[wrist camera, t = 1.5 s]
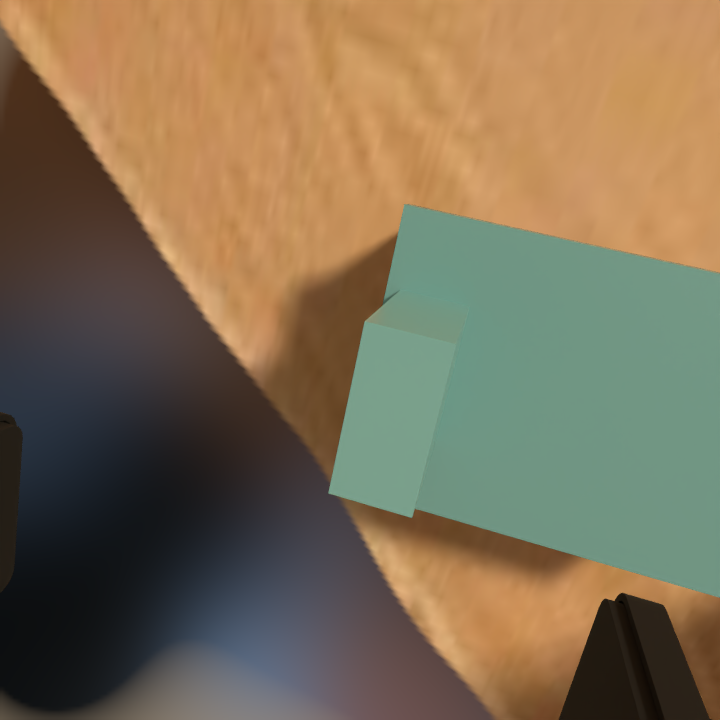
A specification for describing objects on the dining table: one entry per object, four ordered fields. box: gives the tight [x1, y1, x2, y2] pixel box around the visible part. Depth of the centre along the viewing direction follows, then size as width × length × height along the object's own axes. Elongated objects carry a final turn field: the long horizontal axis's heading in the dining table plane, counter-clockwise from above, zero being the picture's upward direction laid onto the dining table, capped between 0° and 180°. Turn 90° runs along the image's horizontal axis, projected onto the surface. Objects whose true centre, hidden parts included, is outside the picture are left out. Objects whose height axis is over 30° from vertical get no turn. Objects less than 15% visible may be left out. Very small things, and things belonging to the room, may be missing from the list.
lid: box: [329, 204, 720, 598], centre depth 20 cm, size 15×11×8 cm
